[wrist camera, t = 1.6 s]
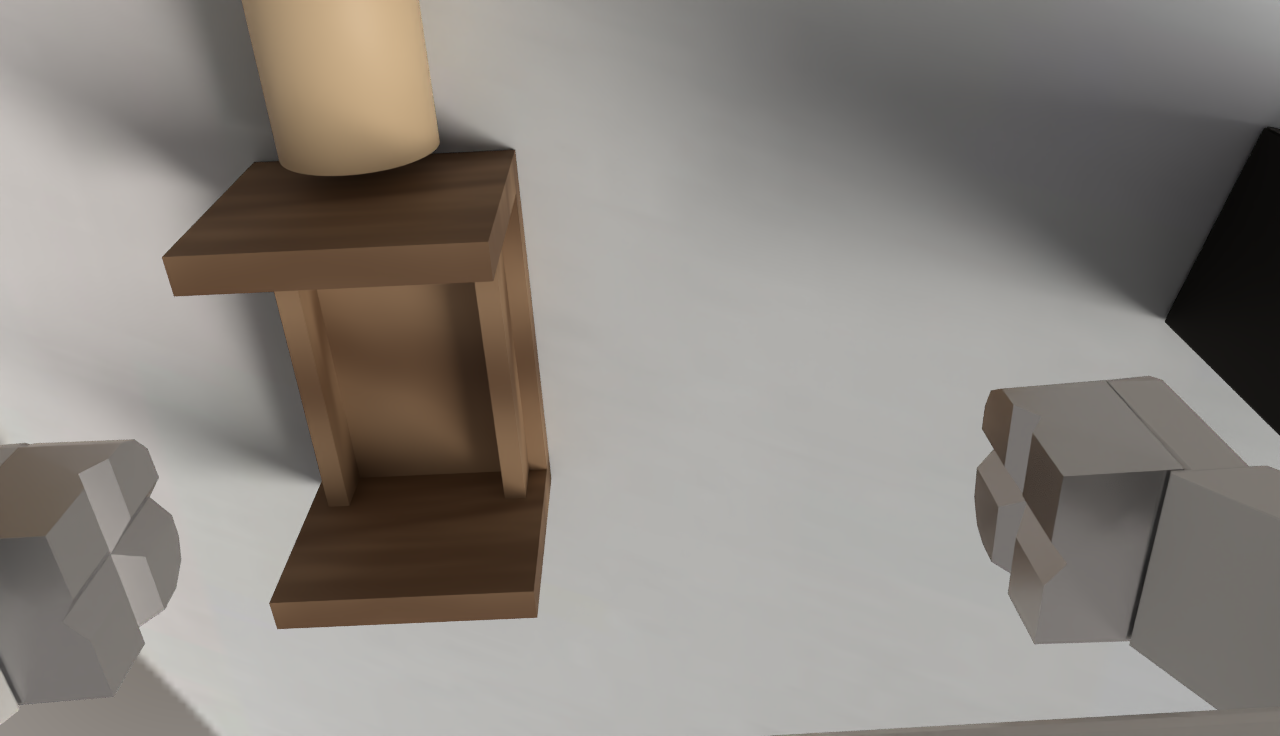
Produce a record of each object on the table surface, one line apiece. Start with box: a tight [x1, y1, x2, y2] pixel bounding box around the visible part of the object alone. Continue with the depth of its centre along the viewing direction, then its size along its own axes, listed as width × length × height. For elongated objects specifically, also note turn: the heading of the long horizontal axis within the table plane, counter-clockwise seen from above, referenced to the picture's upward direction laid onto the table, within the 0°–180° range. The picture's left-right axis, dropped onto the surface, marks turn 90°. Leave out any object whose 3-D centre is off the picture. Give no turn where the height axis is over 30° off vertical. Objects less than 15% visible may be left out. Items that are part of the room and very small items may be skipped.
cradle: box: [162, 150, 551, 629], centre depth 34 cm, size 14×9×8 cm, turn 3°
